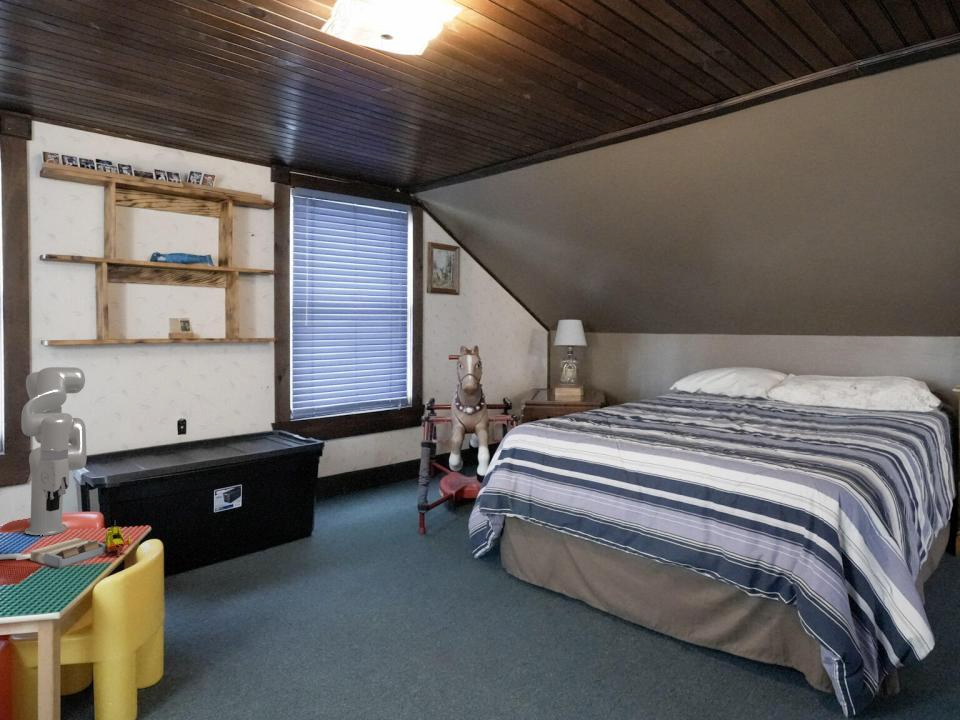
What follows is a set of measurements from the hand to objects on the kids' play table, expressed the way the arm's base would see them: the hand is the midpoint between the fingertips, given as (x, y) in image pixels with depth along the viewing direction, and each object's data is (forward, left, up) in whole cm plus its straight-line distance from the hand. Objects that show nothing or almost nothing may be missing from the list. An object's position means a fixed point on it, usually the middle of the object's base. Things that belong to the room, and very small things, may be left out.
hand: (52, 510), depth 199 cm
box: (+7, +3, -16) cm, 18 cm away
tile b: (+7, 0, -12) cm, 14 cm away
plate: (0, +3, -16) cm, 16 cm away
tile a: (+7, +7, -12) cm, 16 cm away
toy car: (+9, +15, -16) cm, 24 cm away
